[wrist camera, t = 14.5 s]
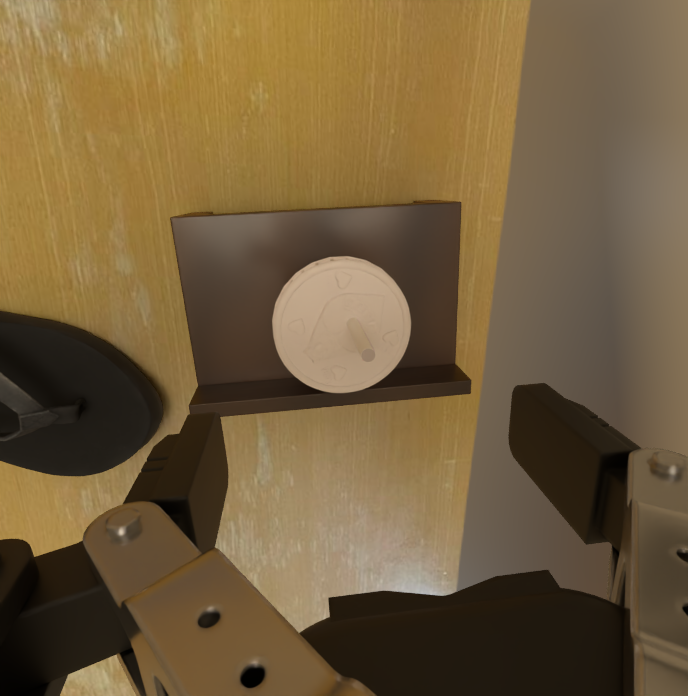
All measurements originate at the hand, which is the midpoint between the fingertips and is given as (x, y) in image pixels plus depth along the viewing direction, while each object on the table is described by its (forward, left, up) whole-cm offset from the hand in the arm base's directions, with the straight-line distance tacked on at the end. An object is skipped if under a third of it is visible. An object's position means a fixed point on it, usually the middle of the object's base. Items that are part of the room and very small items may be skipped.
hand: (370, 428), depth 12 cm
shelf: (0, +1, -24) cm, 24 cm away
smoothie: (0, 0, -19) cm, 19 cm away
